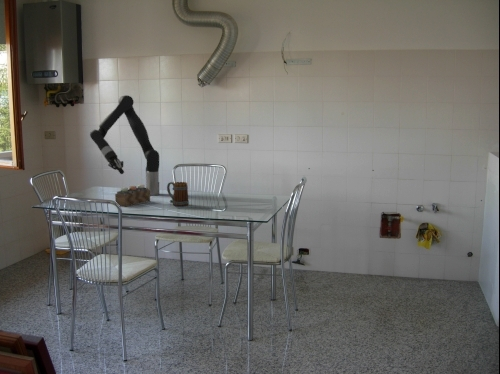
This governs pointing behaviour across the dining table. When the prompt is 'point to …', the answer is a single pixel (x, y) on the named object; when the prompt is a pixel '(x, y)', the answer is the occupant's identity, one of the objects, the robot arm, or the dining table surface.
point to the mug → (179, 194)
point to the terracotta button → (132, 188)
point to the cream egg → (141, 186)
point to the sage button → (124, 189)
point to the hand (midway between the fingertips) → (122, 173)
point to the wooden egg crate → (132, 197)
